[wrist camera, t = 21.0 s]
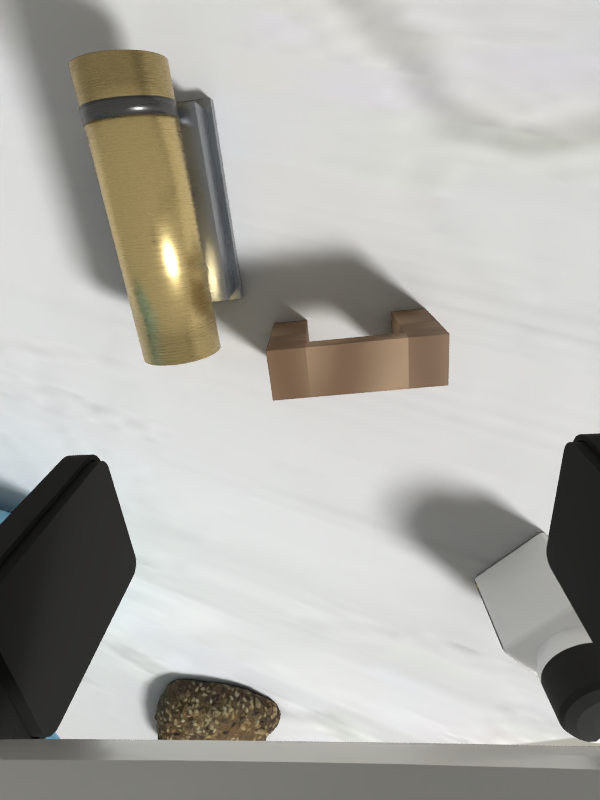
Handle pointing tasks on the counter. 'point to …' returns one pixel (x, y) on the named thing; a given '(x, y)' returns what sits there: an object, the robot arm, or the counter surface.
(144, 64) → the axle
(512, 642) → the medicine bottle
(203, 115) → the cradle
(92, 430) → the counter surface
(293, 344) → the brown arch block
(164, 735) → the bread roll
